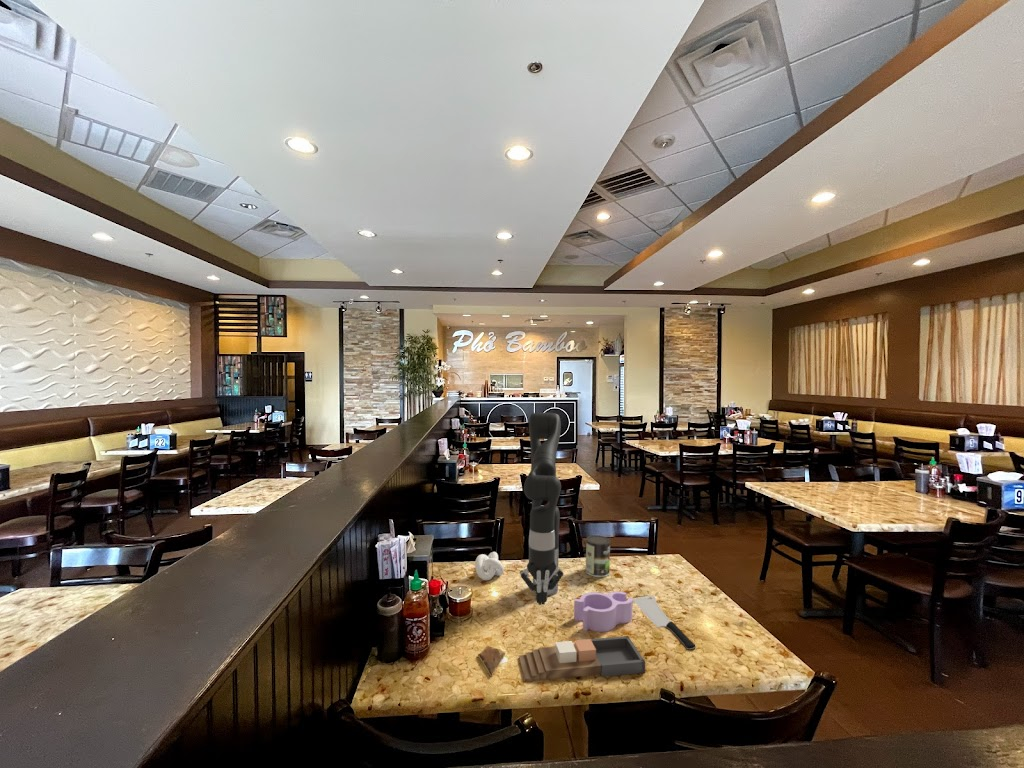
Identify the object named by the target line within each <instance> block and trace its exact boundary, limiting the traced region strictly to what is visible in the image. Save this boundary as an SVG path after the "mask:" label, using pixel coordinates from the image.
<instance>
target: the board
mask: <svg viewBox="0 0 1024 768" xmlns="http://www.w3.org/2000/svg"><path fill="white" fill-rule="evenodd" d="M538 649H539V652H540V655H541V658H542V661H543V664H544V667H545V670H546V679H545V680H553V679H567V678H574V677H575V678H578V677H586V676H596V675H597V676H599V675H601V665H600V663H599V661H598V659H597V657H596V660H590V661H579V659H578V657H577V655H576V662H569V663H559V661H558V658H557V655H556V653H555V646H544V647H538Z"/></svg>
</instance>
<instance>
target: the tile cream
mask: <svg viewBox="0 0 1024 768" xmlns="http://www.w3.org/2000/svg"><path fill="white" fill-rule="evenodd" d="M554 645H555V646H554V647H555V653H556V655H557V658H558V661H559V663H569V662H576V649H575V647H574V643H573V641H572V640H565V641H555V644H554Z"/></svg>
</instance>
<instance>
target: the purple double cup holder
mask: <svg viewBox="0 0 1024 768" xmlns="http://www.w3.org/2000/svg"><path fill="white" fill-rule="evenodd" d="M633 599H634V598H633V597H628V599H627V592H624V591H611V592H609V593H603V592H602V593H601V592H586V593H584V594H583V595H581V596H580V598H575V599H574V603H573V604H574V605H573V607H574V608H573V611H574V612H573V613H574V614H573V620H574V621H577V622H582V631H584V632H587V631H588V630H590V631H594V632H600V633H601V632H604V633H605V632H610V631H612V630H614V629H615V628H616V627H617V625H618V624H627V623H630V622H632V620H633V603H634V601H633Z"/></svg>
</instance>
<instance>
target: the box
mask: <svg viewBox="0 0 1024 768" xmlns="http://www.w3.org/2000/svg"><path fill="white" fill-rule="evenodd" d="M590 639H591V641H592V643H593V645H594V647H595V649H596V657H597V659H598V661H599V663H600V665H601V674H600V676H601V678H602V677H614V676H622V675H634V674H644V673H645V674H646V660H645V659H644V657H643V656H642V654H641V653H640V651H639V649H638V648H637V647H636V645H635V644H634V642H633V641H632V639H631V638H630V637H629V636H628V635H625V636H623V635H622V636H614V637H612V636H611V637H600V638H590Z"/></svg>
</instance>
